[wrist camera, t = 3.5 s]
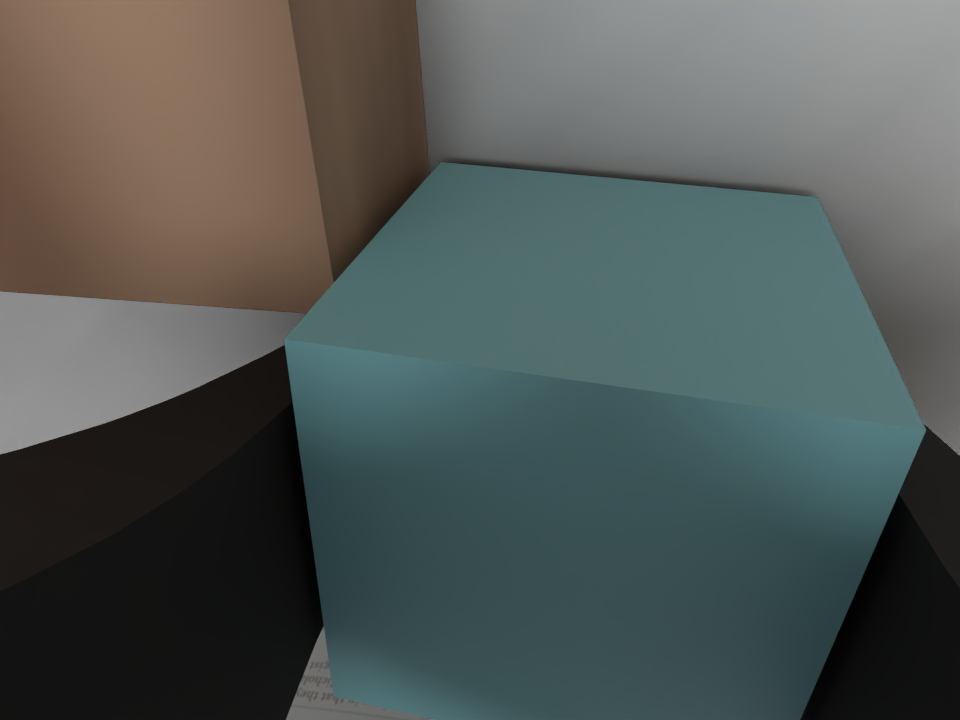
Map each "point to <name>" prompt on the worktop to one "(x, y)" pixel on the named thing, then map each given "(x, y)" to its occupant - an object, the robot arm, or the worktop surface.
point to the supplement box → (315, 707)
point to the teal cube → (594, 450)
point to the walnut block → (203, 145)
